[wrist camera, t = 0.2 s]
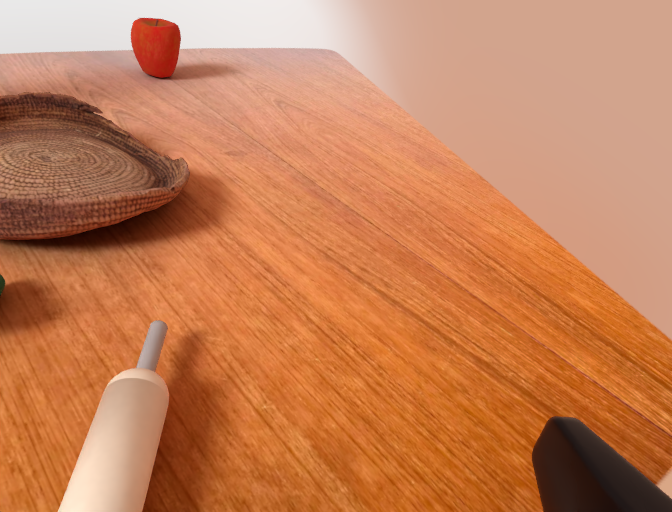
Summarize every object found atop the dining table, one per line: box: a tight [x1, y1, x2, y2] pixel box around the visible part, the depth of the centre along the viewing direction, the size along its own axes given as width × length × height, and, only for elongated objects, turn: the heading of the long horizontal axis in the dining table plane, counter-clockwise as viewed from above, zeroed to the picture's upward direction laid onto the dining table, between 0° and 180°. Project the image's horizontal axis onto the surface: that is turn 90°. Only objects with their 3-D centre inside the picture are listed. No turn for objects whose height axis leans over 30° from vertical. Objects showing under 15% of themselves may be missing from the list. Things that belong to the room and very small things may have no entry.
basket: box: [0, 92, 190, 240], centre depth 44 cm, size 22×20×5 cm
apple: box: [131, 18, 181, 78], centre depth 73 cm, size 6×6×8 cm
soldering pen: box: [58, 321, 169, 512], centre depth 24 cm, size 19×3×3 cm, turn 4°
